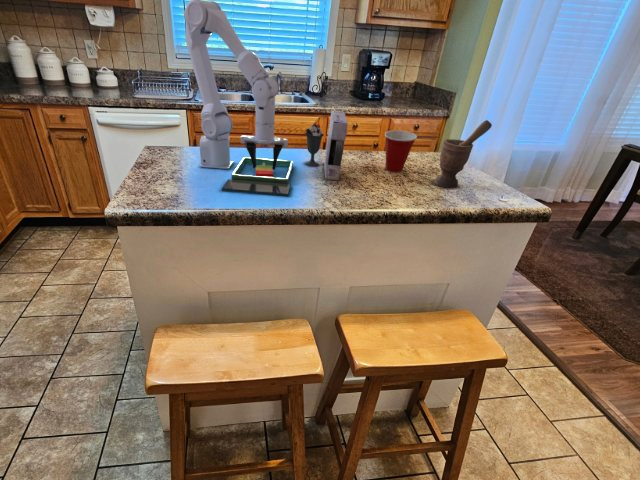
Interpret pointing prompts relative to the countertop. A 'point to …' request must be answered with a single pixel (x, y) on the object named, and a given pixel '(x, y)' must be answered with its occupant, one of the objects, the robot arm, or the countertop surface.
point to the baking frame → (260, 178)
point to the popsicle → (264, 170)
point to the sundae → (313, 142)
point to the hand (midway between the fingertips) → (264, 168)
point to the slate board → (256, 187)
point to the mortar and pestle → (457, 156)
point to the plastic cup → (398, 149)
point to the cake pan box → (335, 145)
